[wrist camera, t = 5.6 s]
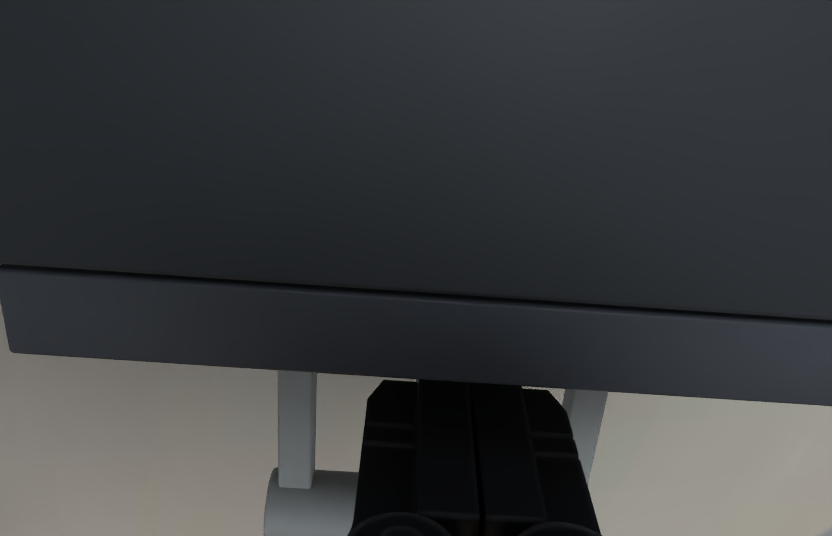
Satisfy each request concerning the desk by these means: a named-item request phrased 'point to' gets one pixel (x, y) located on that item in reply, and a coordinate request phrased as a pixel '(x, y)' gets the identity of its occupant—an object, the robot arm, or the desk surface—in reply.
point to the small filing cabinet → (429, 146)
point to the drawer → (407, 353)
